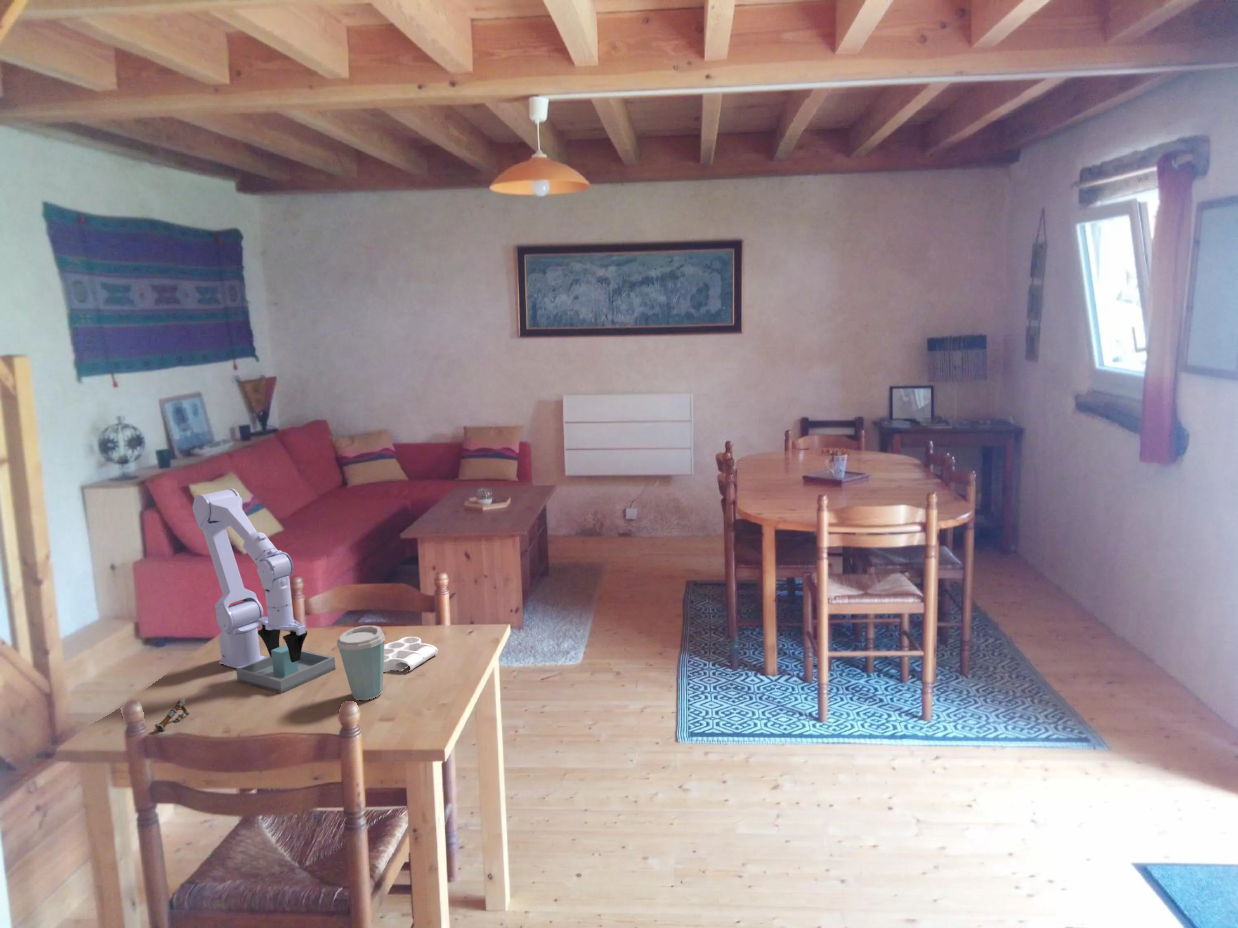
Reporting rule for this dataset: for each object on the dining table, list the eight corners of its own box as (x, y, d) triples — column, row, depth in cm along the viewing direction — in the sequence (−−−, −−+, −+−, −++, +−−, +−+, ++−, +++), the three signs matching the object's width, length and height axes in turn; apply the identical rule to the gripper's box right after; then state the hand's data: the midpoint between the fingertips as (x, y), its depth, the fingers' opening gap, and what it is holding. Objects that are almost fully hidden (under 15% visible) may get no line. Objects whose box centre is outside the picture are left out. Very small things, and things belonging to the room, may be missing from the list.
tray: (237, 681, 222) (236, 669, 221) (292, 658, 235) (290, 647, 234) (281, 693, 213) (280, 680, 213) (335, 668, 227) (334, 657, 226)
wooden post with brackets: (194, 710, 204) (185, 696, 202) (169, 739, 198) (160, 725, 195) (188, 709, 205) (179, 695, 202) (163, 738, 198) (153, 724, 196)
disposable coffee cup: (372, 707, 203) (366, 642, 201) (331, 702, 207) (325, 638, 205) (399, 688, 213) (394, 626, 211) (360, 683, 217) (354, 622, 214)
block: (273, 673, 223) (271, 650, 222) (287, 668, 227) (284, 644, 226) (284, 676, 221) (282, 652, 220) (298, 670, 224) (295, 647, 223)
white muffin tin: (403, 679, 219) (353, 672, 225) (445, 652, 236) (398, 646, 241) (402, 666, 219) (352, 659, 224) (444, 639, 235) (397, 634, 241)
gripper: (245, 605, 222) (251, 658, 224) (285, 613, 214) (291, 669, 216) (270, 596, 227) (275, 649, 230) (310, 604, 220) (315, 658, 222)
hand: (285, 658), depth 223 cm, fingers open, 7 cm apart
